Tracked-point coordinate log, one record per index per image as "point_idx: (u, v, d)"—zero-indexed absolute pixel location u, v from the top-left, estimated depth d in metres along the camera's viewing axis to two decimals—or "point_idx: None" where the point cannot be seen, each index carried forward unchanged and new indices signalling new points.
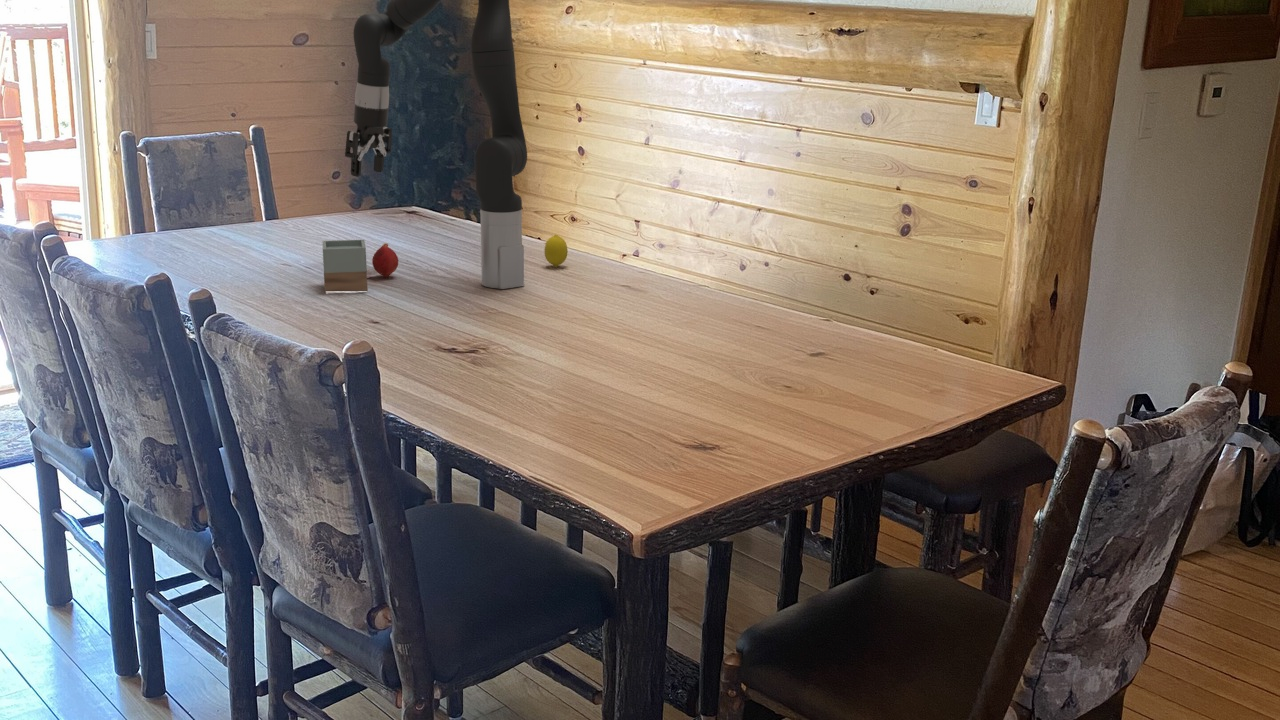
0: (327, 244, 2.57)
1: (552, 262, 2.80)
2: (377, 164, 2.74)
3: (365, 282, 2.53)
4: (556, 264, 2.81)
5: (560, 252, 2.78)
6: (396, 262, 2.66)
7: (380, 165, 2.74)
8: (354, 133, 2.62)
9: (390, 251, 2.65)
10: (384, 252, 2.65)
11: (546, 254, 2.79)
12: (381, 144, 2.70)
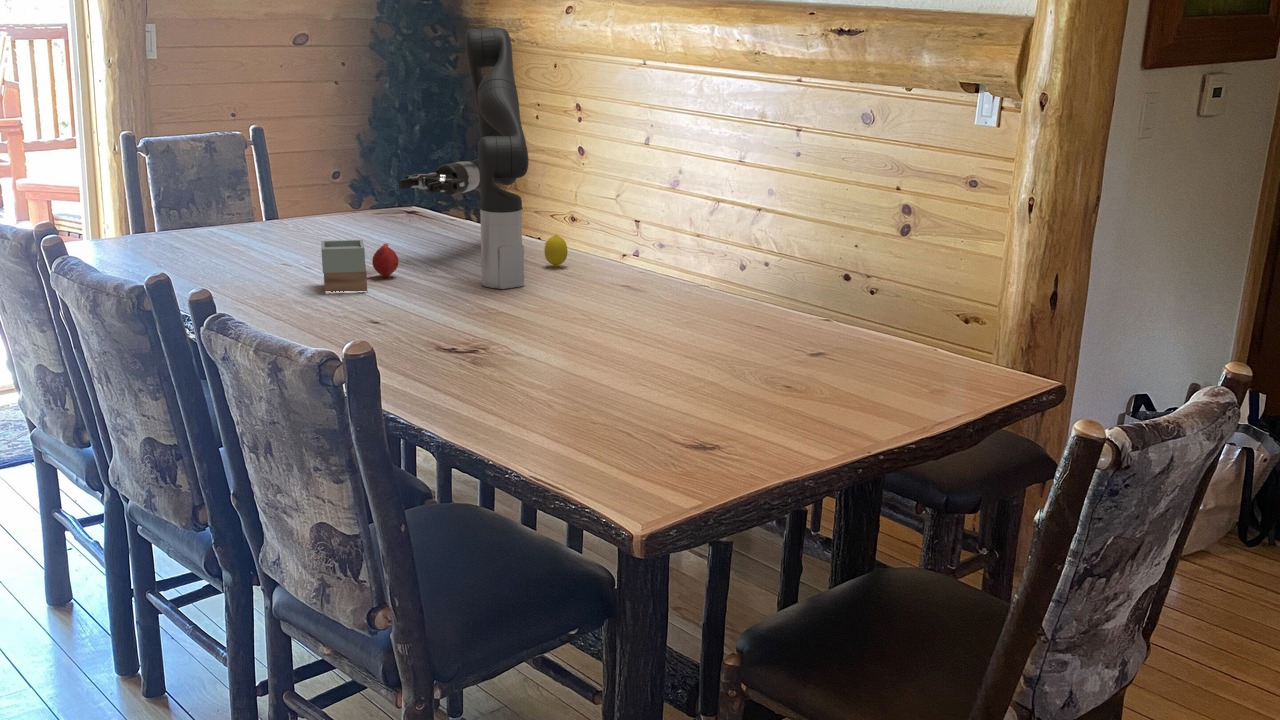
0: (326, 244, 2.57)
1: (552, 262, 2.80)
2: None
3: (365, 282, 2.53)
4: (556, 264, 2.81)
5: (560, 252, 2.78)
6: (396, 262, 2.66)
7: None
8: None
9: (390, 251, 2.65)
10: (384, 252, 2.65)
11: (546, 254, 2.79)
12: (441, 176, 2.76)
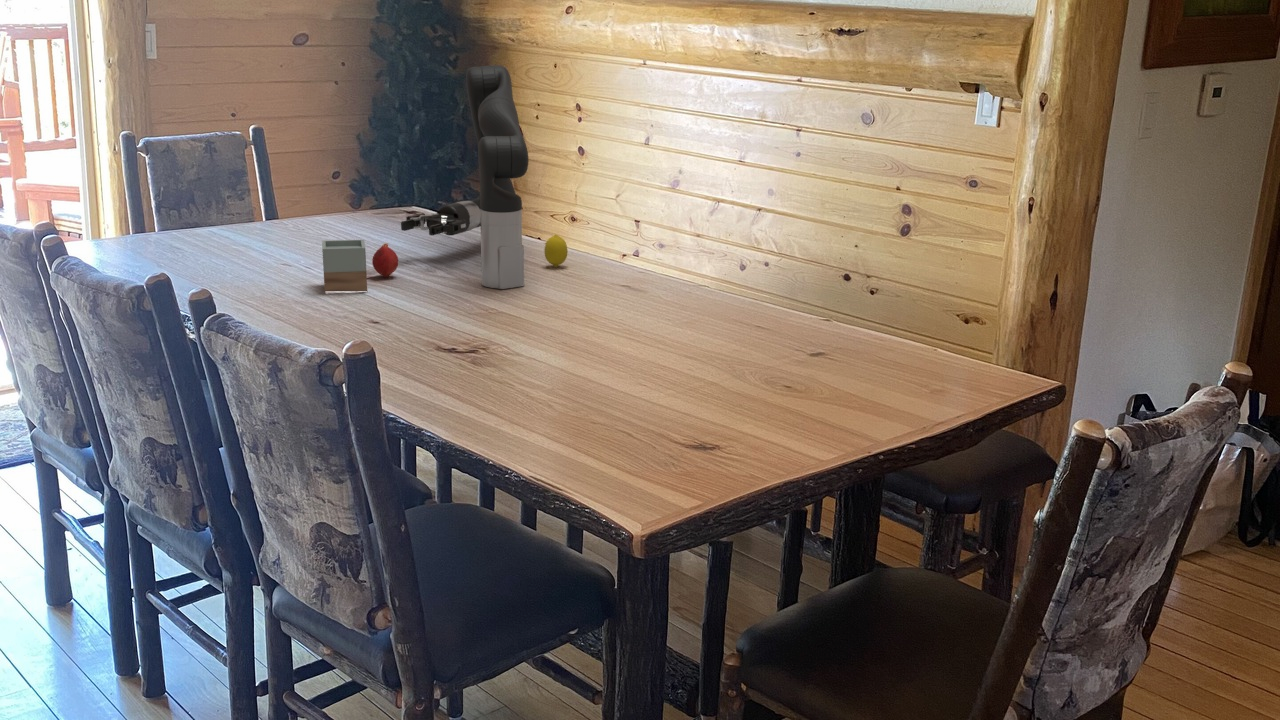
0: (327, 244, 2.57)
1: (552, 262, 2.80)
2: None
3: (365, 282, 2.54)
4: (556, 264, 2.81)
5: (560, 252, 2.78)
6: (396, 262, 2.66)
7: None
8: None
9: (390, 251, 2.65)
10: (384, 252, 2.65)
11: (546, 254, 2.79)
12: (442, 218, 2.79)
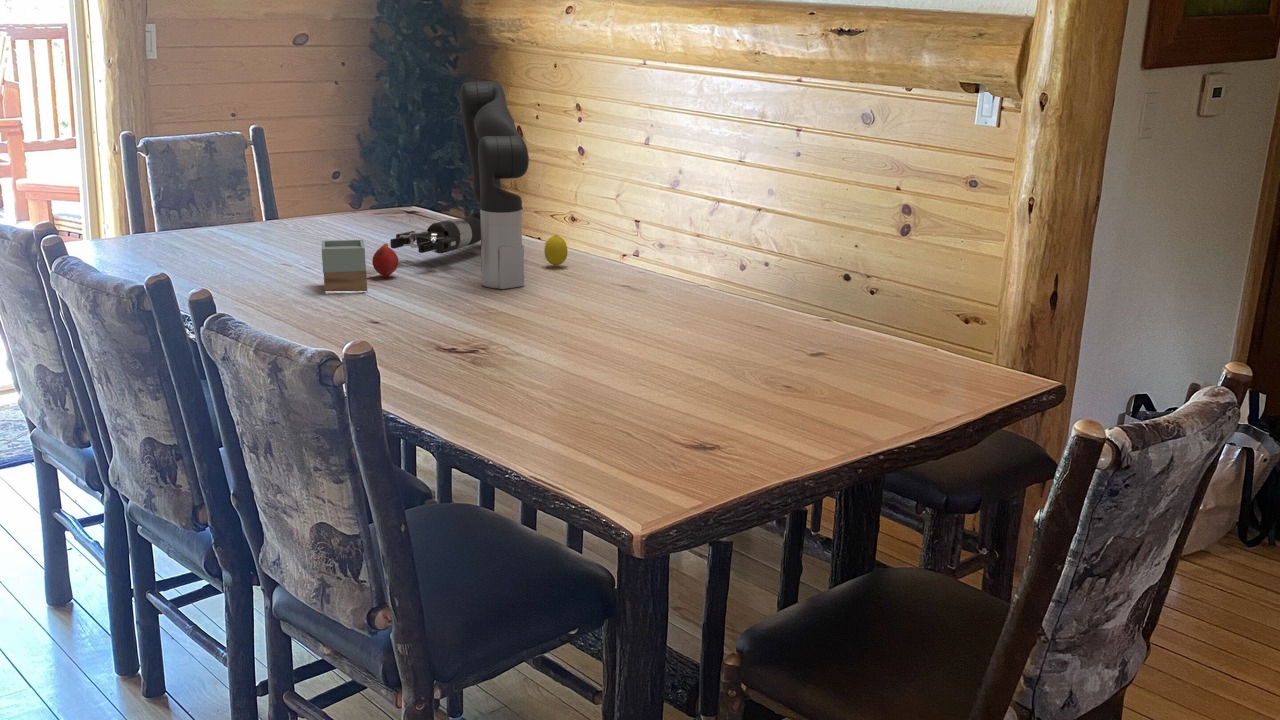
0: (326, 244, 2.57)
1: (552, 262, 2.80)
2: None
3: (365, 282, 2.53)
4: (556, 264, 2.81)
5: (560, 252, 2.78)
6: (396, 261, 2.66)
7: None
8: None
9: (390, 251, 2.65)
10: (384, 252, 2.65)
11: (546, 254, 2.79)
12: (432, 235, 2.76)
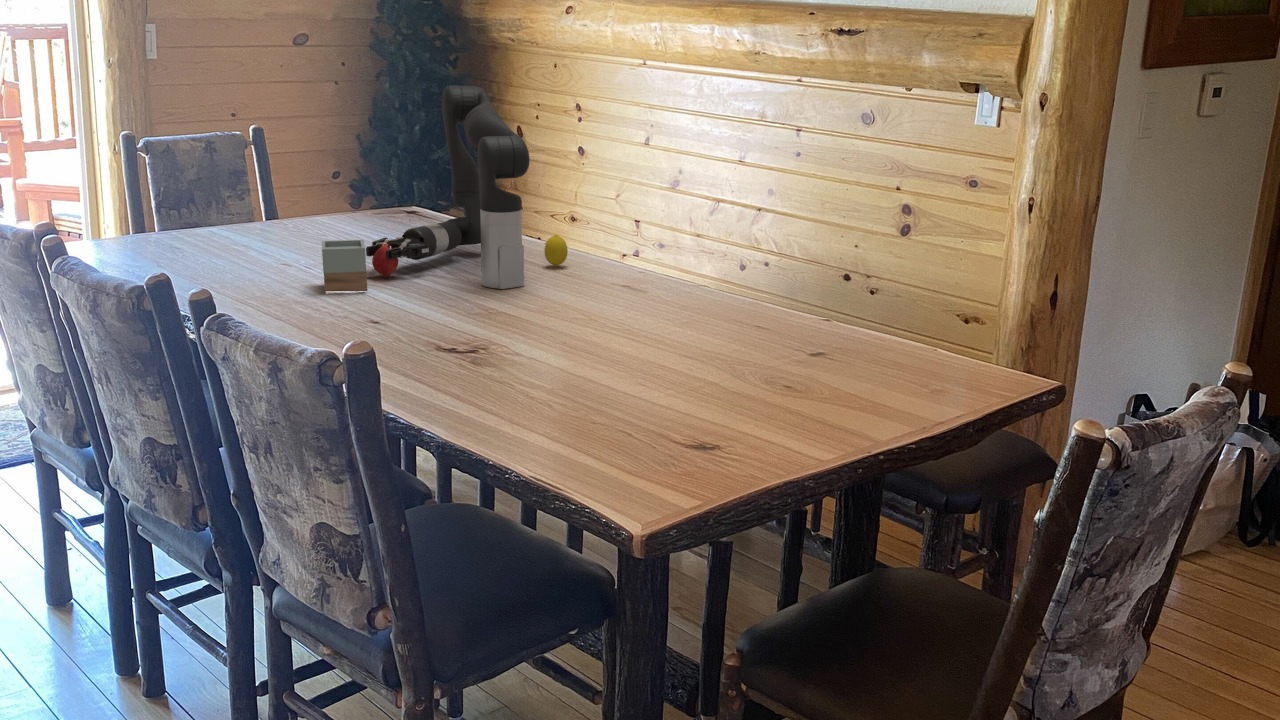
0: (326, 244, 2.57)
1: (552, 262, 2.80)
2: None
3: (365, 282, 2.53)
4: (556, 264, 2.81)
5: (560, 252, 2.78)
6: (395, 261, 2.66)
7: None
8: None
9: None
10: (383, 252, 2.65)
11: (546, 254, 2.79)
12: (405, 241, 2.69)
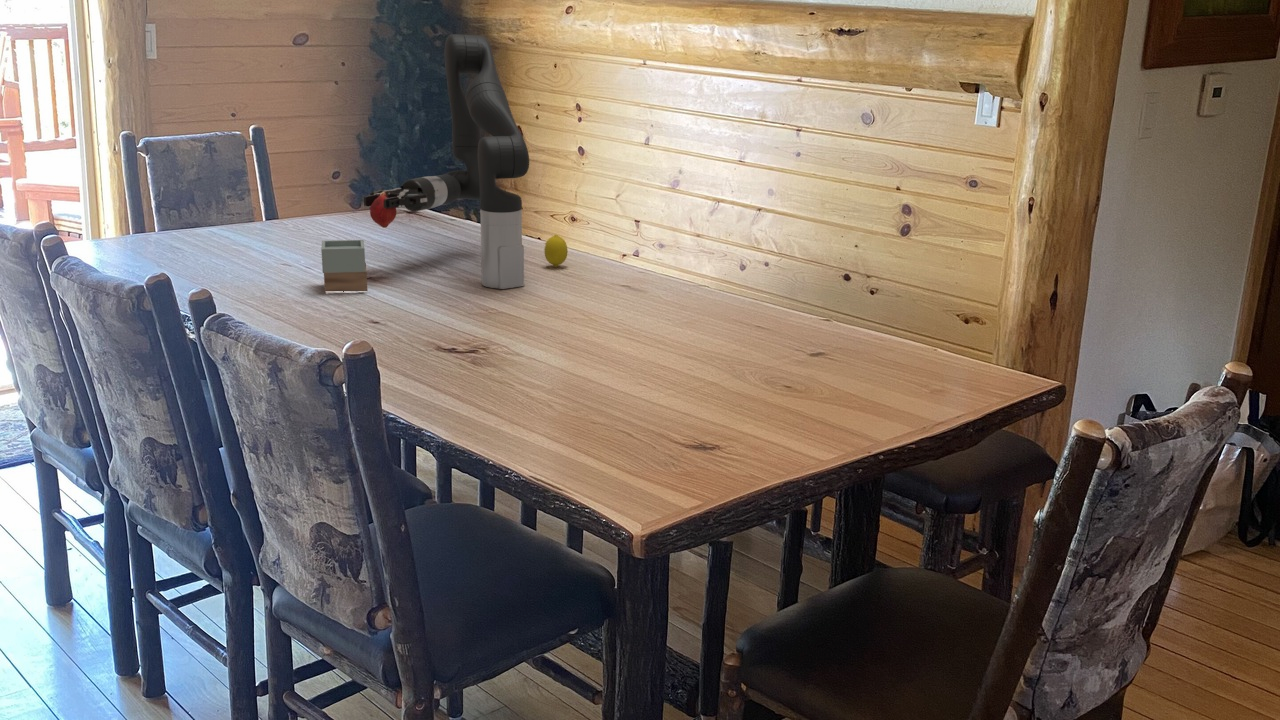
0: (326, 244, 2.57)
1: (552, 262, 2.80)
2: None
3: (365, 282, 2.53)
4: (556, 264, 2.81)
5: (560, 252, 2.78)
6: (394, 211, 2.62)
7: None
8: None
9: None
10: (381, 201, 2.61)
11: (546, 254, 2.79)
12: (403, 191, 2.65)
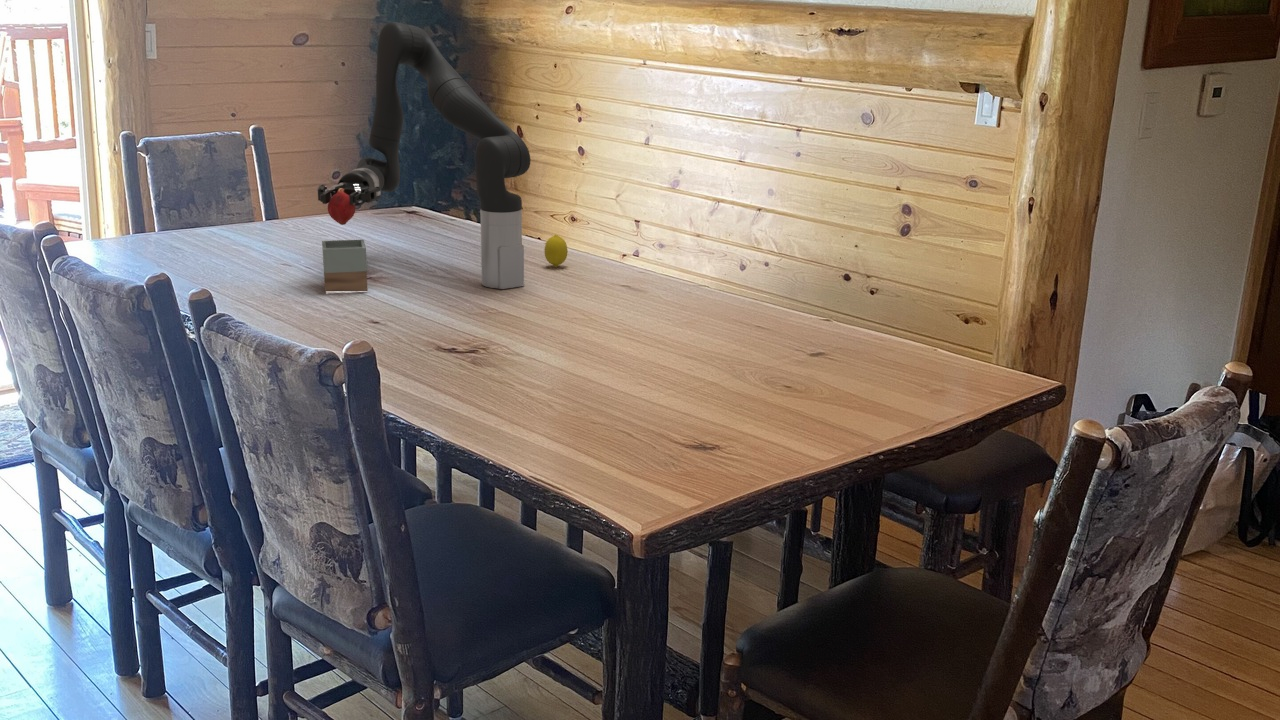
0: (326, 244, 2.57)
1: (552, 262, 2.80)
2: None
3: (365, 282, 2.54)
4: (556, 264, 2.81)
5: (560, 252, 2.78)
6: None
7: None
8: None
9: (348, 196, 2.51)
10: (343, 197, 2.50)
11: (546, 254, 2.79)
12: (355, 186, 2.55)
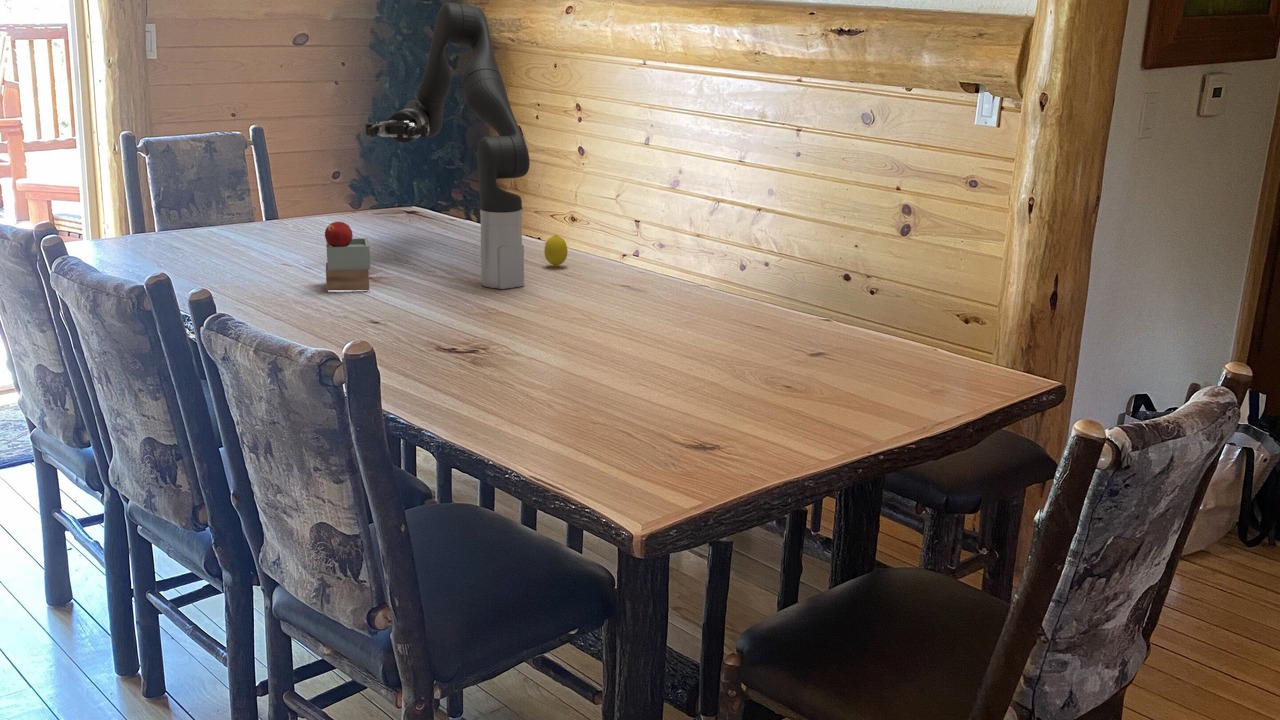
0: None
1: (552, 262, 2.80)
2: None
3: (367, 281, 2.54)
4: (556, 264, 2.81)
5: (560, 252, 2.78)
6: (349, 228, 2.53)
7: None
8: None
9: (340, 227, 2.51)
10: (338, 234, 2.50)
11: (546, 254, 2.79)
12: (407, 122, 2.73)
